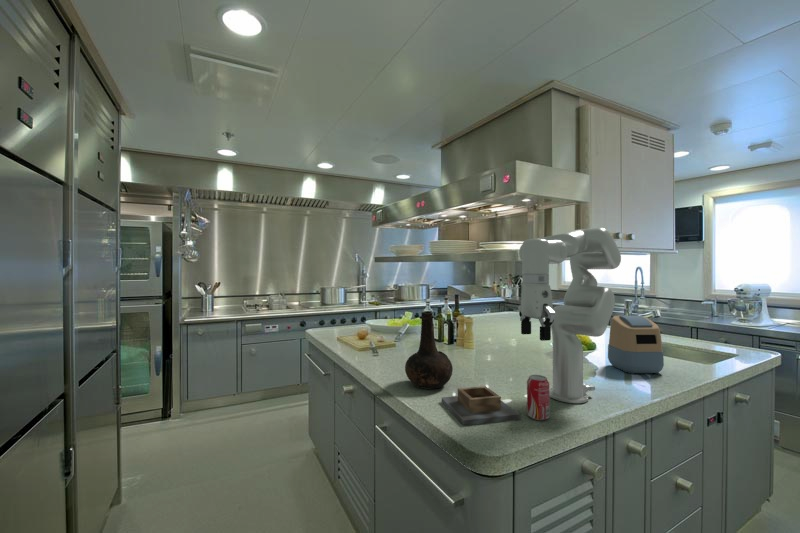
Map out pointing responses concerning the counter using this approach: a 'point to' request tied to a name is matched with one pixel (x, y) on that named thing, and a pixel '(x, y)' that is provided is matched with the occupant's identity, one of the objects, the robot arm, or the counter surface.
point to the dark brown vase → (428, 359)
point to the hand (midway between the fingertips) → (535, 337)
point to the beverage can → (538, 397)
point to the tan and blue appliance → (635, 345)
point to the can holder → (479, 406)
